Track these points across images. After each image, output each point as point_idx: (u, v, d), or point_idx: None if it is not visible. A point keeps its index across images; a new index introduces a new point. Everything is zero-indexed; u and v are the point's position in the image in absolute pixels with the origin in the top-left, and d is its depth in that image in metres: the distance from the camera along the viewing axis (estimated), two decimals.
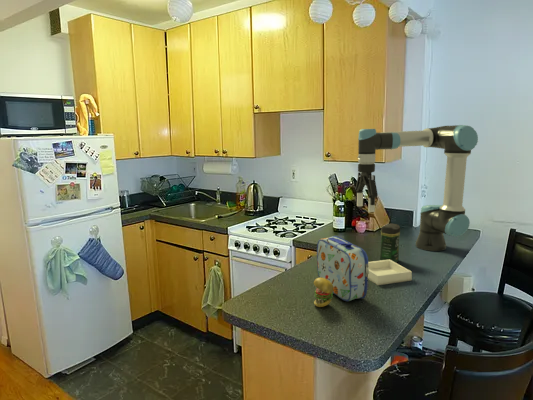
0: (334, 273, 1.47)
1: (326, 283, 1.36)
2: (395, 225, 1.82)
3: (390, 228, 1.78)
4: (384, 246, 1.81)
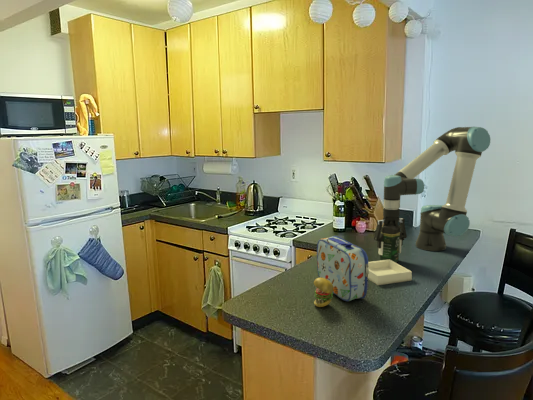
0: (334, 273, 1.47)
1: (326, 283, 1.36)
2: None
3: (390, 228, 1.78)
4: (384, 247, 1.81)
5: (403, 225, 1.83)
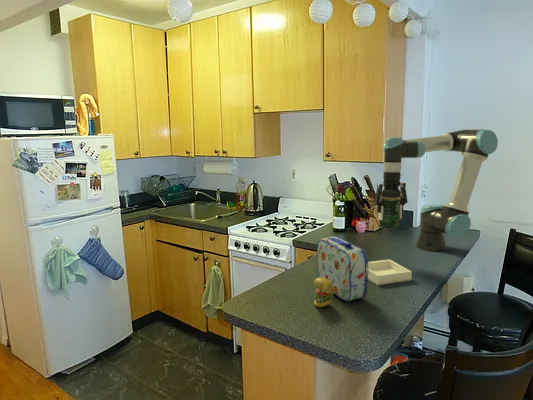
0: (334, 273, 1.47)
1: (326, 283, 1.36)
2: None
3: (390, 191, 1.73)
4: (384, 211, 1.76)
5: (404, 189, 1.77)
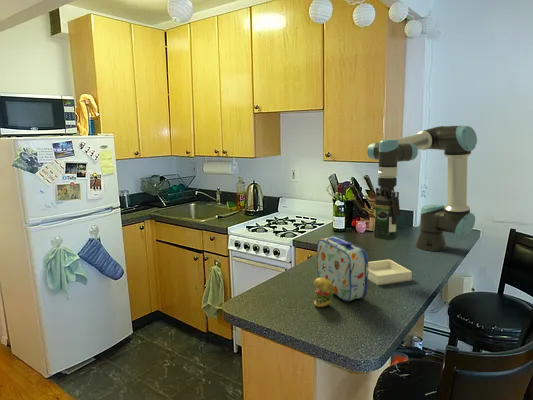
0: (334, 273, 1.47)
1: (326, 283, 1.36)
2: None
3: None
4: None
5: None
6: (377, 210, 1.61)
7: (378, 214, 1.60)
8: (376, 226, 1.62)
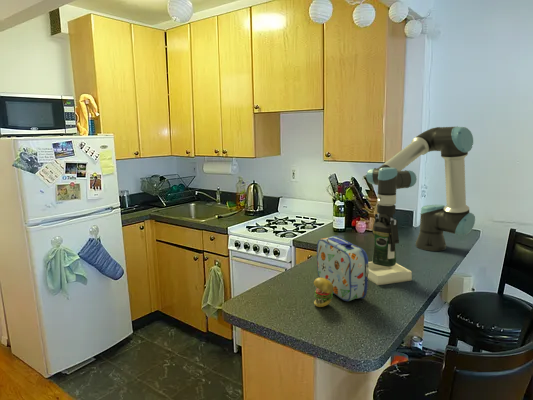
0: (334, 273, 1.47)
1: (326, 283, 1.36)
2: None
3: None
4: None
5: None
6: (376, 237, 1.63)
7: (377, 241, 1.62)
8: (375, 252, 1.64)
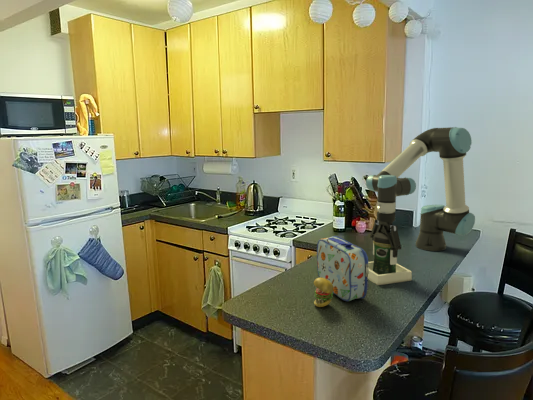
0: (334, 273, 1.47)
1: (326, 283, 1.36)
2: None
3: None
4: None
5: None
6: (376, 247, 1.63)
7: (378, 251, 1.63)
8: (375, 263, 1.65)
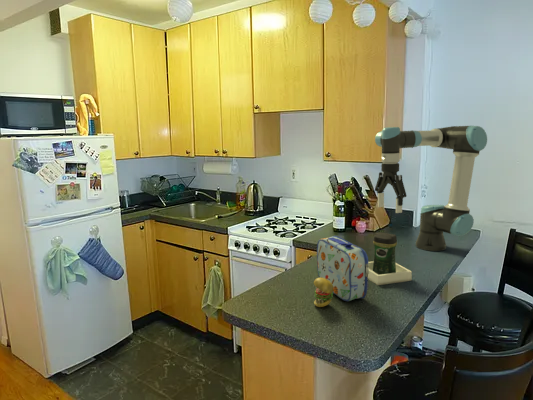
0: (334, 273, 1.47)
1: (326, 283, 1.36)
2: None
3: (395, 236, 1.62)
4: (393, 258, 1.62)
5: None
6: (376, 247, 1.63)
7: (377, 251, 1.63)
8: (375, 263, 1.65)
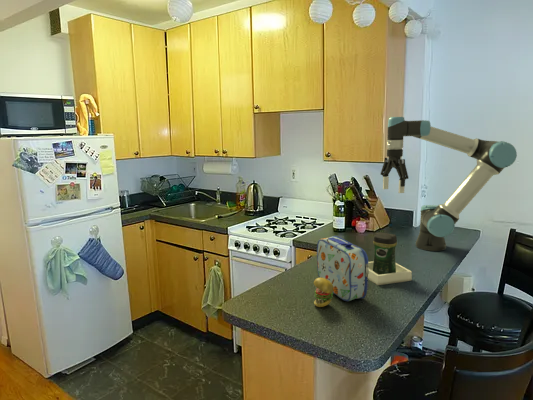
0: (334, 273, 1.47)
1: (326, 283, 1.36)
2: None
3: (395, 236, 1.62)
4: (393, 258, 1.62)
5: None
6: (376, 247, 1.63)
7: (377, 251, 1.63)
8: (375, 263, 1.65)
